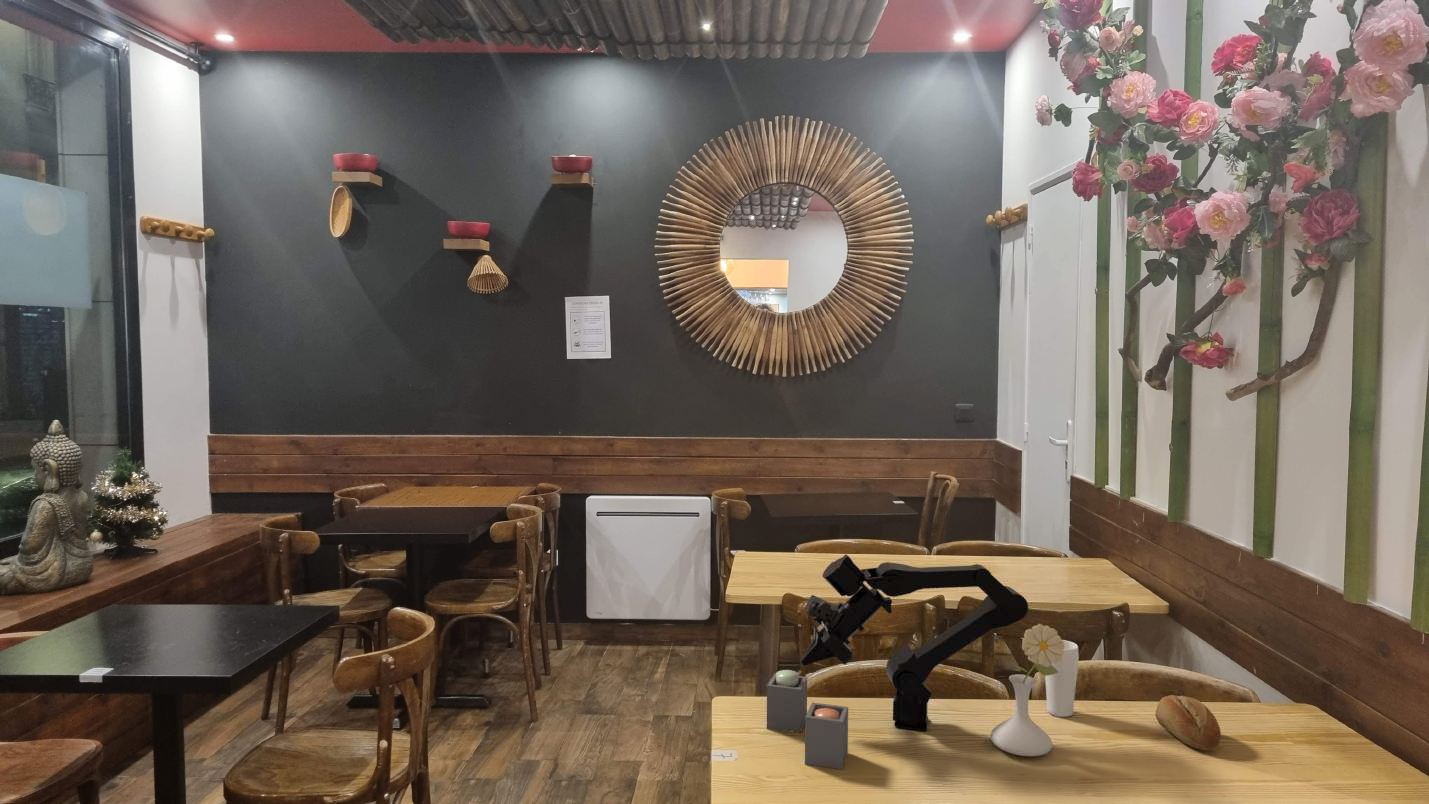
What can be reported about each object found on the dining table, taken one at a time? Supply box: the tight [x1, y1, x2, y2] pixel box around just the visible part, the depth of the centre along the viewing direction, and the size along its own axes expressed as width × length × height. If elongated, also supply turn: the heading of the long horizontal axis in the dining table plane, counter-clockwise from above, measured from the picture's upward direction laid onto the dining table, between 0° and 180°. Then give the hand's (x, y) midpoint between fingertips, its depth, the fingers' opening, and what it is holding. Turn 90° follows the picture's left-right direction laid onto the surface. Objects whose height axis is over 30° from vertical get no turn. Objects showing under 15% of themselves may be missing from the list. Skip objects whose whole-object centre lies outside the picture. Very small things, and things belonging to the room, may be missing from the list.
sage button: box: [775, 669, 800, 688], centre depth 173 cm, size 5×5×2 cm
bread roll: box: [1154, 694, 1222, 751], centre depth 168 cm, size 10×15×8 cm, turn 3°
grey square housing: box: [804, 702, 849, 771], centre depth 159 cm, size 7×7×9 cm
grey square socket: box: [766, 672, 808, 733], centre depth 174 cm, size 7×7×9 cm
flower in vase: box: [989, 623, 1064, 757], centre depth 162 cm, size 13×11×25 cm
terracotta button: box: [815, 708, 839, 720], centre depth 158 cm, size 5×5×2 cm
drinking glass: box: [1044, 639, 1079, 718], centre depth 179 cm, size 7×7×15 cm
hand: (801, 663), depth 173 cm, fingers closed
